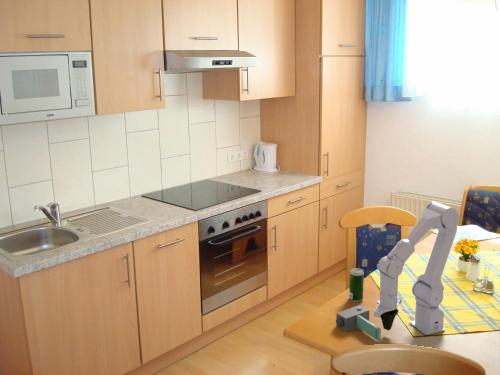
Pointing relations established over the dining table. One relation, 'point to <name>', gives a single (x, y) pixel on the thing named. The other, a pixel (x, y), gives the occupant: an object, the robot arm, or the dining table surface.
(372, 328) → the side door
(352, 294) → the beer can
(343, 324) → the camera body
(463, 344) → the dining table surface
